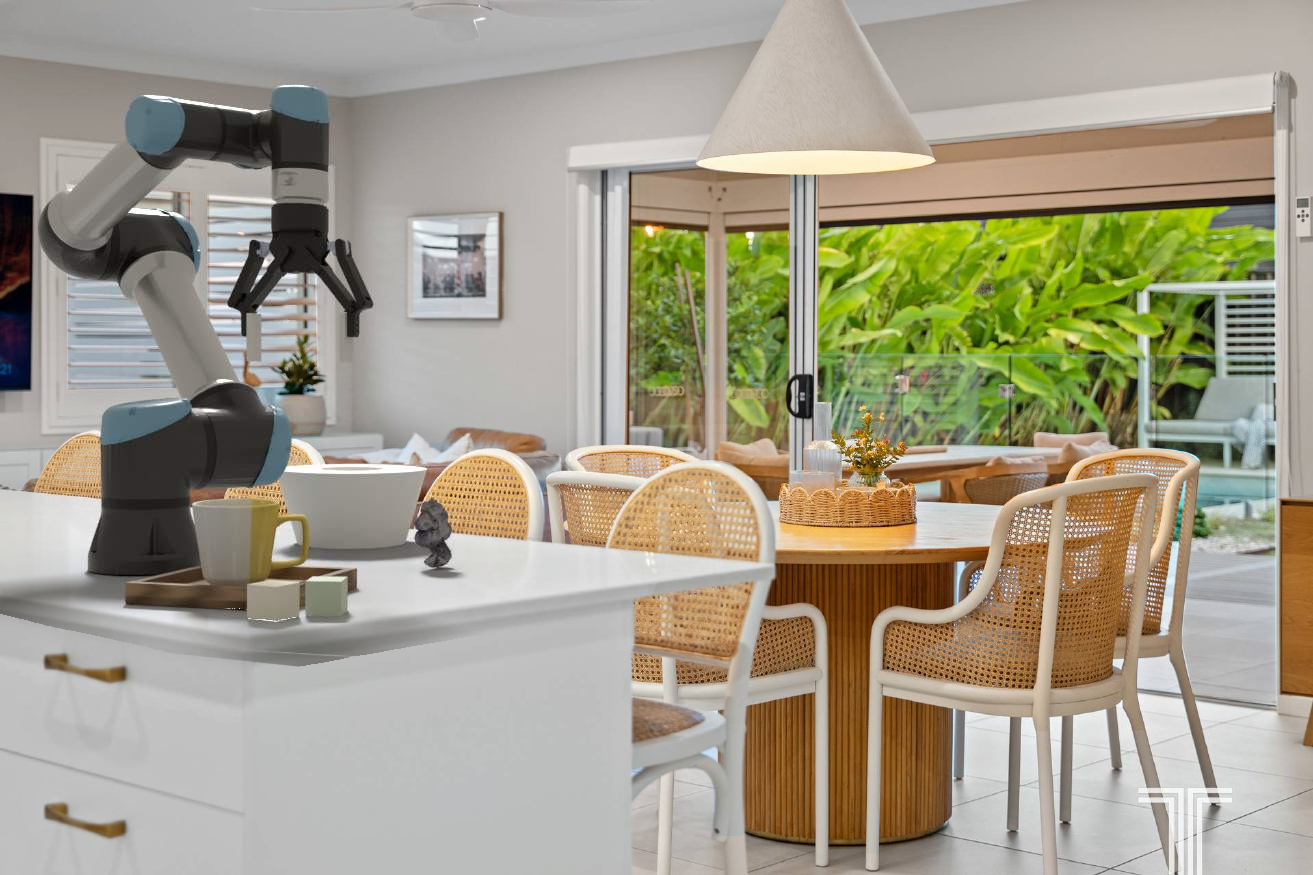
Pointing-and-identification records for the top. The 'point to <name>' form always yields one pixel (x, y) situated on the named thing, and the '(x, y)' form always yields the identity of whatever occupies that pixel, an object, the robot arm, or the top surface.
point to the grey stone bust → (433, 532)
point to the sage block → (326, 596)
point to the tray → (218, 587)
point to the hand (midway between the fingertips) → (299, 362)
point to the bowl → (352, 503)
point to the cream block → (273, 600)
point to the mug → (241, 539)
